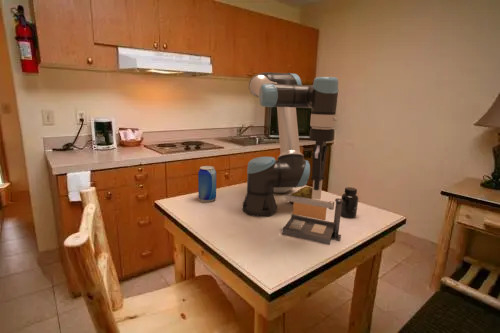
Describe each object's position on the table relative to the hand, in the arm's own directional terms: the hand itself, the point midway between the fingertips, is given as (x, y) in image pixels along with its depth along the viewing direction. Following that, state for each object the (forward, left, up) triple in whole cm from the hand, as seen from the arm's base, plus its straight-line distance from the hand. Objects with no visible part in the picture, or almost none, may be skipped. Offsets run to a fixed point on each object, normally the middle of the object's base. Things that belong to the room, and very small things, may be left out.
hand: (316, 198), depth 95 cm
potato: (-13, +35, -16) cm, 41 cm away
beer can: (-54, +17, -16) cm, 59 cm away
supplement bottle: (+9, +30, -16) cm, 35 cm away
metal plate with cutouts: (-3, +6, -16) cm, 17 cm away
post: (+7, +6, -16) cm, 18 cm away
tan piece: (-3, +6, -10) cm, 12 cm away
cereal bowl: (-28, +47, -16) cm, 57 cm away
